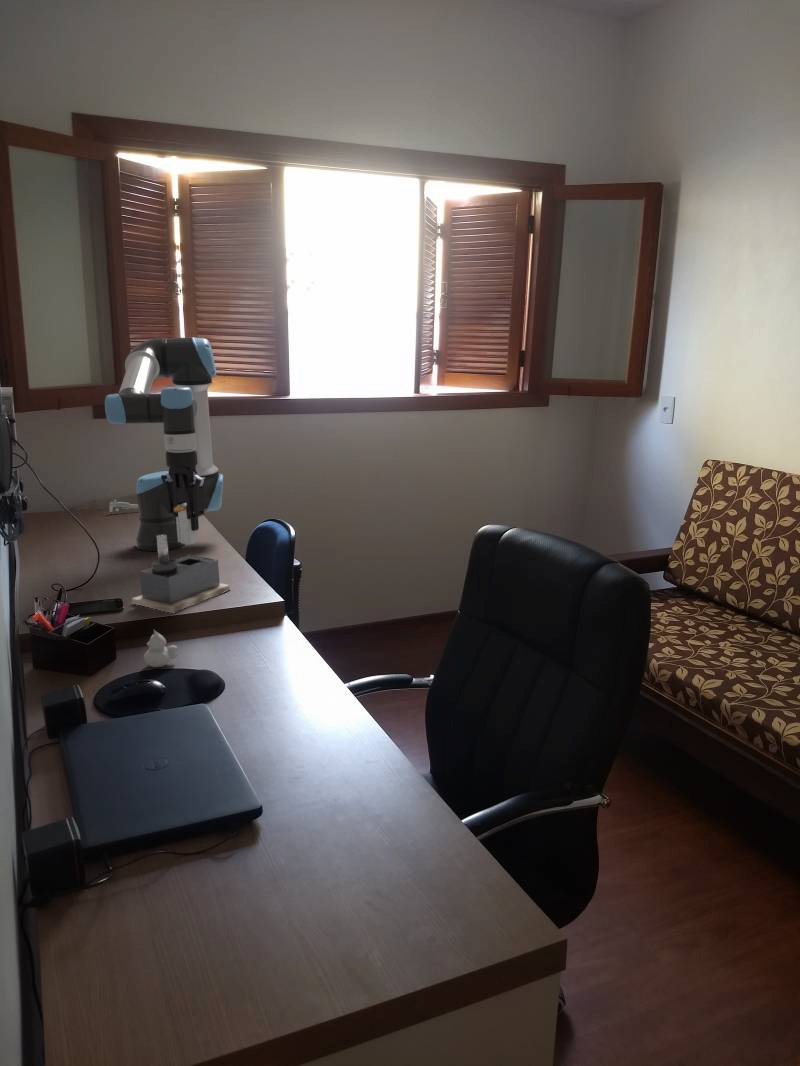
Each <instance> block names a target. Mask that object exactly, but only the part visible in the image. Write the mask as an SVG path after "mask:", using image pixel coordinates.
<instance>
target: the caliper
mask: <svg viewBox="0 0 800 1066" xmlns="http://www.w3.org/2000/svg"><path fill="white" fill-rule="evenodd" d="M111 499H112V500H111V501H109V507H108V508H109V513H110V512H112V513H113V509H114V508H115V511H118V512H119V511H120V509H121V510H126V511H129V510H130V509H134V510H135V509H136V510H137V509H138V504H130V502H125V501H124V502H123V501H117V499H113V498H111ZM138 510H139V509H138ZM115 511H114V512H115Z"/></svg>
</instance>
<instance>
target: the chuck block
mask: <svg viewBox="0 0 800 1066" xmlns="http://www.w3.org/2000/svg"><path fill="white" fill-rule="evenodd" d="M157 546H158V551H157V555H158V557H157V558H158V560H155V561H153V562H151V564H150V565H151V567H148V568H146V569H143V570H140V571H139V577H140V578H139V580H140V586H141V587H140V589H141V590H140V591H141V595H142V598H144V599H148V600H153V601H157V602H161V603H166V604H170V605H171V604H174V603H176V602H179V601H181V600H184V599H187V598H189V597H192V596H194V595H197V594H199V593H202V592H204V591H207V590H210V589H212V588H215V587H217V586H220V583H221V582H220V571H219V559H216V558H210V557H203V556H198V555H192V554H188V555H184V556H182V557H179V558H176V559H170V556H169V550H168V544H167V535H165V534H161V535H157Z"/></svg>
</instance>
